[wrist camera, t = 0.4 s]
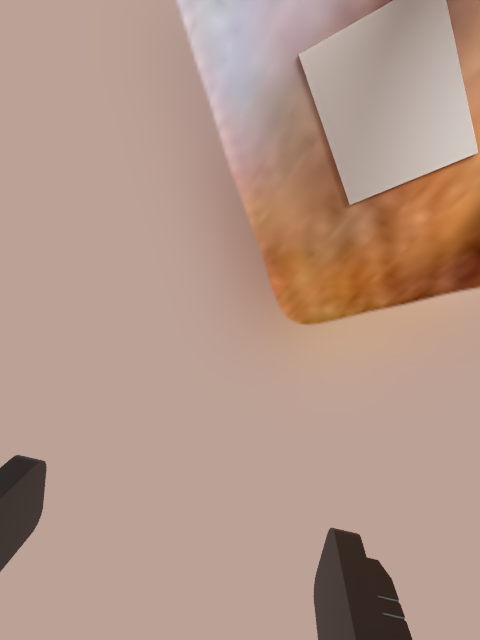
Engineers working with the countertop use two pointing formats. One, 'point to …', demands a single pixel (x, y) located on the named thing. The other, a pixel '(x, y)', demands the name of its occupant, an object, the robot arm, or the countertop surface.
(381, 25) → the grey mat
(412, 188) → the countertop surface
